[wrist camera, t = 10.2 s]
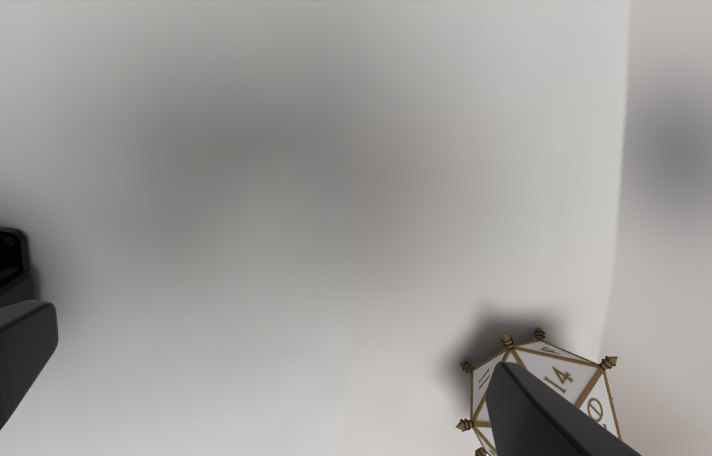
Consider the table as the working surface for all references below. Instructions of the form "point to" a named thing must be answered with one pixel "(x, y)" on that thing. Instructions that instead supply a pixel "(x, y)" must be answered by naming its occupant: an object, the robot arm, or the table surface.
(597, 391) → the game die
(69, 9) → the table surface
